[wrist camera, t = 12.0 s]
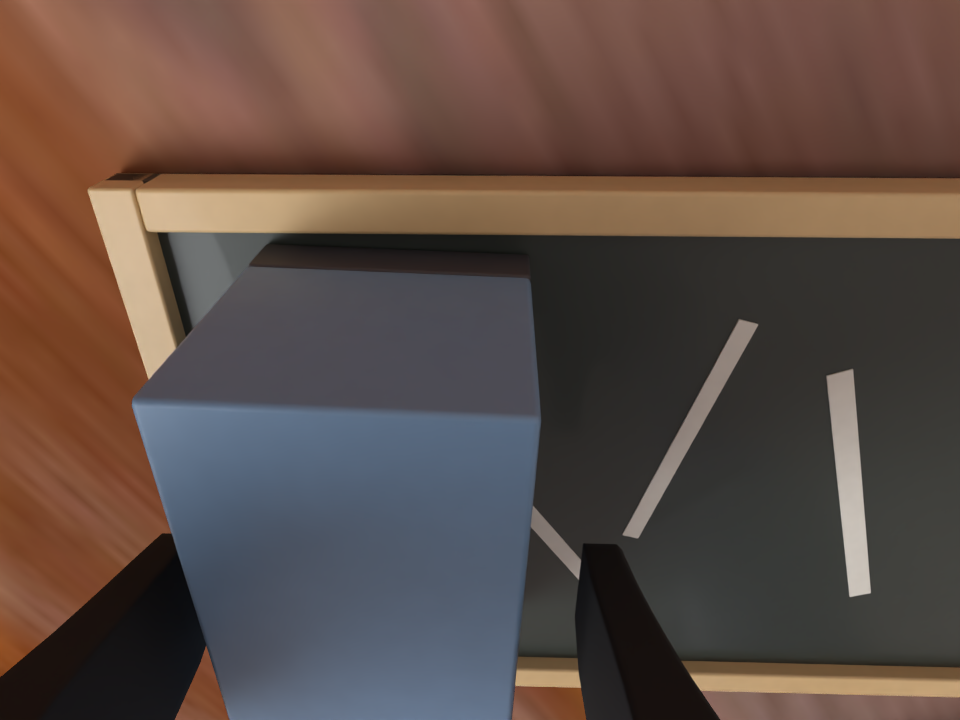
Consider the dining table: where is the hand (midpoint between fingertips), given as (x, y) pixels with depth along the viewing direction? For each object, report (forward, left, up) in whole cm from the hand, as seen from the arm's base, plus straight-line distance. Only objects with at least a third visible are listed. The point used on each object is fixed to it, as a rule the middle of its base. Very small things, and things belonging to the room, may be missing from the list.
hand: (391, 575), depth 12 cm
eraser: (0, 0, -3) cm, 3 cm away
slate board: (0, -8, -3) cm, 9 cm away
